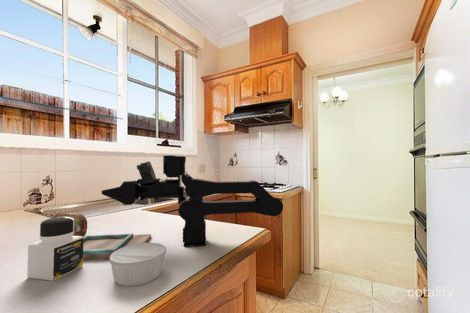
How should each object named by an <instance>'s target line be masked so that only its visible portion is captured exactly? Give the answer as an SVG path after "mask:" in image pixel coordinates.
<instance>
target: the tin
mask: <svg viewBox="0 0 470 313" xmlns="http://www.w3.org/2000/svg"><path fill="white" fill-rule="evenodd" d="M56 217H71V218H73V219H74V234H73V235H72V236H83V237H85V236H87V230H88V219H87V217H86V216H85V215H83V214H81V213H71V212H62V213H61V212H60V213H57V214H55V215H54V216H53V218H56Z"/></svg>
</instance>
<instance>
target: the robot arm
mask: <svg viewBox="0 0 470 313" xmlns="http://www.w3.org/2000/svg"><path fill="white" fill-rule="evenodd" d="M162 159H163V160H162V168H163V170H162V172H163V175H165V177H166V178H168V179H161V178H157V176H156V174H155V173H156V172H155V171H154V168H153V165H152V163H151V161H148V160H146V161H144V162H141V163H139V164H137V165H136V169H137V170H138V172H139V176H140V177H141V178H138V179H137V180H126V181H125V180H124V181H123V182H122V183H121V184H120V186H116V187H112V188H108V189H106V188H105V189H103V190H101V195H102V196H105V197H108V198H110V199H113V200H115V201H117V202H119V203H121V204H122V205H124V206H132V205H134V204H136V203H137V202H138V201H139V200H140V201H145V200H157V201H158V200H160V199H161V200H162V199H177V204H178V205H179V207H178V215H179V216H180V218H181V219H182V220H184V226H183V228H182V243H183V247H199V246H203V247H204V246H206V245H207V232H206V231H207V228H206V227H207V225H206V224H207V223H206V222H207V220H205V219H206V216H211V215H230V214H251V213H252V214H258V215H262V216H269V217H278V216H280V215H281V214H282V212H283V211H284V210H283V209H284V204H283V201H282V200H281V199H280V198H278V197H276V196H273V195H272V194H271V193H270V192H268V190H266V189H265V188H264V187H263V186H262V185H261V184H260V183H259V182H258V181H255V180H248V181H246V180H245V181H244V180H243V181H241V180H240V181H213V180H207V179H202V178H193V177H192V176H190V175H189V174H188V173H187V172H186V161H187V157H186V156H184V155H181V156H180V155H173V154H171V155H163V156H162ZM169 178H176V179H169ZM185 194H186V195H185ZM219 194H220V195H221V194H222V195H228V194H229V195H230V194H232V195H234V194H237V195H239V194H251V195H252V196H253V197H254V198H252V199H237V200H236V199H235V200H234V199H233V200H205V199H204V198H205V197H208V196H214V195H219ZM187 196H188V197H187Z"/></svg>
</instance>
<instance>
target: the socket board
mask: <svg viewBox="0 0 470 313" xmlns="http://www.w3.org/2000/svg"><path fill="white" fill-rule="evenodd" d="M151 239H152V234H151V233H148V234H147V233H146V234H143V233H142V234H134V233H114V234H111V233H110V234H94V235H93V234H91V235H89V234H88V235H87V234H86V235H85V236H84V237H83V261H91V260H92V261H93V260H95V261H96V260H110V256H111V254H112V253H113V252H115V251H117V250H118V249H120V248H123V247H126V246H129V245H133V244H138V243H149V241H150V240H151Z"/></svg>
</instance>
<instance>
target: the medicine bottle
mask: <svg viewBox="0 0 470 313" xmlns="http://www.w3.org/2000/svg"><path fill="white" fill-rule="evenodd" d="M39 224H40V226H39V228H40V229H39V241H35V242H32V243H30V244H28V245H27V273H26V274H27V275H26V277H27V278H28V279H34V280H43V281H50V282H53V281H57V280H59V279H60V278H63V277H64V276H67V275H68V274H70V273H73V272H75V271H76V270H78V269H80V268H82V267H83V265H84V260H83V236H72V235H73V234H74V219H73V218H71V217H56V218H54V217H51V218H47V219H45V220H43V221H41V223H39Z"/></svg>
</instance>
